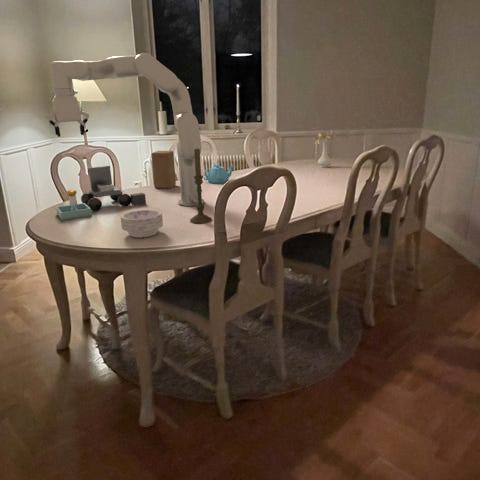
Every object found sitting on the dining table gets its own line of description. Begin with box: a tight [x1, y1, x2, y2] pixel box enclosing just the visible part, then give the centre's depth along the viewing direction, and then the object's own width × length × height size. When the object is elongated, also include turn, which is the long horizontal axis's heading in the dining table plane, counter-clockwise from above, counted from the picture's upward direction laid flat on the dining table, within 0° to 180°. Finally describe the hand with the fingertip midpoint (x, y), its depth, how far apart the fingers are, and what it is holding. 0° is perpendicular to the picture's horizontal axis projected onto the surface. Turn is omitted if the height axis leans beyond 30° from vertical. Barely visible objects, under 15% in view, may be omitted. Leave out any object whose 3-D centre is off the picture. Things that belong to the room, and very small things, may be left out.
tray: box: [55, 203, 93, 221], centre depth 190 cm, size 12×12×4 cm
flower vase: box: [311, 129, 338, 169], centre depth 291 cm, size 13×18×25 cm
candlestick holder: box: [189, 147, 213, 225], centre depth 173 cm, size 9×9×30 cm
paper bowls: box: [120, 209, 164, 239], centre depth 161 cm, size 15×15×8 cm
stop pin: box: [66, 189, 78, 211], centre depth 189 cm, size 4×4×10 cm
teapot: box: [203, 162, 235, 184], centre depth 254 cm, size 15×15×10 cm
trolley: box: [80, 165, 132, 212], centre depth 203 cm, size 15×20×18 cm
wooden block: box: [150, 150, 177, 189], centre depth 242 cm, size 10×10×20 cm
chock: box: [129, 192, 147, 207], centre depth 207 cm, size 4×6×5 cm, turn 122°
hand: (70, 135), depth 183 cm, fingers open, 9 cm apart
